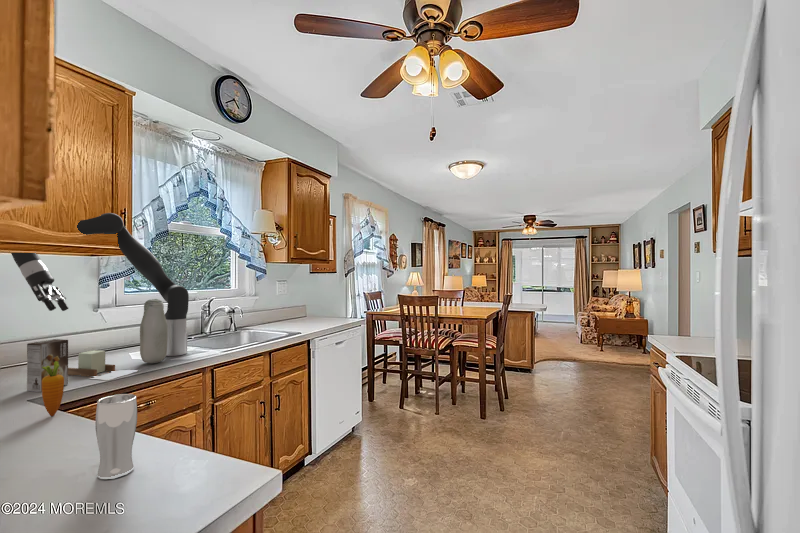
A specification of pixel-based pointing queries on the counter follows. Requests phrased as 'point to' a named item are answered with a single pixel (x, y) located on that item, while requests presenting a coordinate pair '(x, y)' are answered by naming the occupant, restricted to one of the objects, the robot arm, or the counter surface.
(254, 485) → the counter surface
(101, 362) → the block
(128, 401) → the beer glass
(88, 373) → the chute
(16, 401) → the counter surface
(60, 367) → the coffee box
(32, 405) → the counter surface
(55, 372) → the carrot
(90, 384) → the counter surface
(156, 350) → the grey bottle
